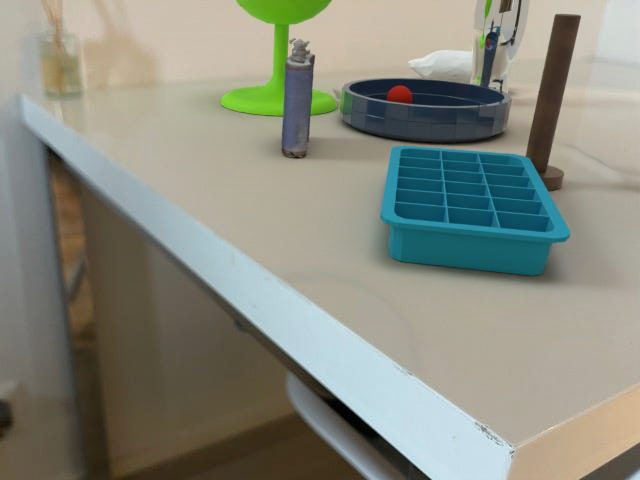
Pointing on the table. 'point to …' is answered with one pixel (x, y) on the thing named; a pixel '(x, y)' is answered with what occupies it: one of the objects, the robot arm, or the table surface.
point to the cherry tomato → (400, 95)
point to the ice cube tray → (469, 210)
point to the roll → (444, 65)
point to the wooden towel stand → (552, 98)
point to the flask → (297, 99)
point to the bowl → (426, 110)
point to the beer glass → (496, 40)
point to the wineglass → (277, 58)
